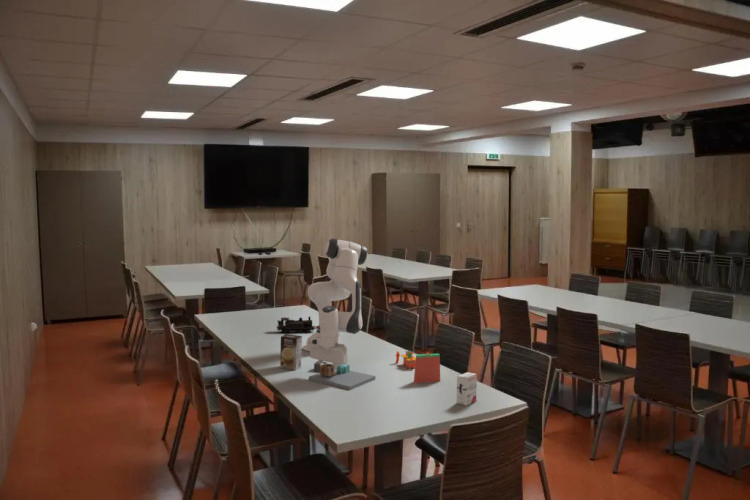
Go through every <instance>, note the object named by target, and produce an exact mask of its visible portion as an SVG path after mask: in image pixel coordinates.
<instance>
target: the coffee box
mask: <svg viewBox="0 0 750 500" xmlns="http://www.w3.org/2000/svg"><path fill="white" fill-rule="evenodd" d="M302 343H303V336H302V335H298V334H297V335H296V334H291V333H284V334H283V335H282V336H280V357H279V359H280V360H279V361H280V362H279V366H280V367H279V369H285V370H293V371H297V370H299V369H300V368H302V352H303V351H302V350H303V349H302V347H303V346H302Z"/></svg>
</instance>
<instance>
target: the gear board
mask: <svg viewBox="0 0 750 500" xmlns="http://www.w3.org/2000/svg"><path fill="white" fill-rule="evenodd" d="M332 364H333V365H334V363H332ZM375 380H376V375H371V374H368V373H363V372H359V371H353V370H350V364H348V362H347V363H346V364H344V365H341V364H339V365H338V367H337V374H334V375H332V376H325V375H321V374H320V372H318V373H315V374H313V375H310V376H308V381H312V382H316V383H320V384H324V385H328V386H333V387H336V388H340V389H345V390H348V391H351V390H353V389H355V388H358V387H360V386H363V385H365V384H368V383H370V382H373V381H375Z"/></svg>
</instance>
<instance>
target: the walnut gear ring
mask: <svg viewBox="0 0 750 500" xmlns="http://www.w3.org/2000/svg"><path fill="white" fill-rule="evenodd" d="M334 366H335V365H333V363H329V362H327V364H324V365H321V366H320V371H319V373H320V374H321V375H325V376H332V375H334V374H337V371H336V372H332V368H334Z"/></svg>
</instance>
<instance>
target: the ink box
mask: <svg viewBox="0 0 750 500" xmlns="http://www.w3.org/2000/svg"><path fill="white" fill-rule="evenodd" d="M477 375H478V374H477V373H473V372H464V373H462V374H460V375H457V377H456V404H459V405H463V406H469V405H470V404H472V403H475V402H477V386H478V385H477V383H478V382H477V381H478V380H477V379H478V377H477Z"/></svg>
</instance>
